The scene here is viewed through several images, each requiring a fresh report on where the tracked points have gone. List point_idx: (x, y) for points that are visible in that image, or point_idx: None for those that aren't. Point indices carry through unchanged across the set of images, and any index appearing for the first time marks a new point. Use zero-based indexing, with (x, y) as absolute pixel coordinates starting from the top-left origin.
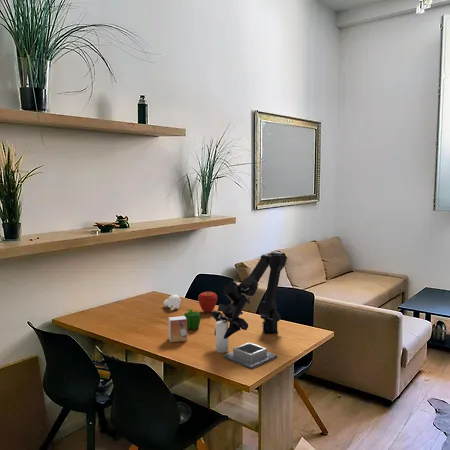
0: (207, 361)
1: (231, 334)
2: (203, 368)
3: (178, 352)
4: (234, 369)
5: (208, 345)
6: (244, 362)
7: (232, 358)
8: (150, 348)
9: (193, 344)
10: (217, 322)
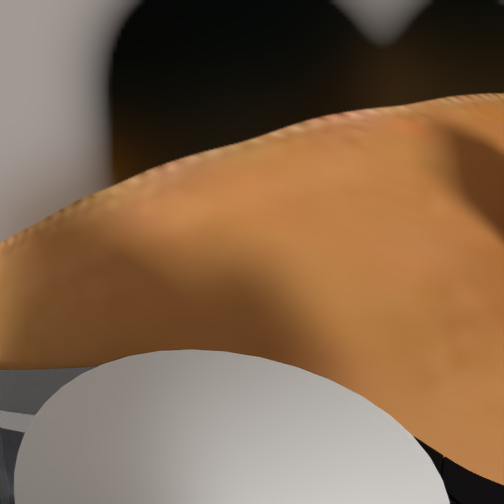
0: (168, 246)
1: None
2: (118, 194)
3: (397, 168)
4: (15, 312)
5: (437, 394)
6: (3, 386)
7: (65, 378)
8: (471, 112)
9: (491, 297)
10: (345, 485)
